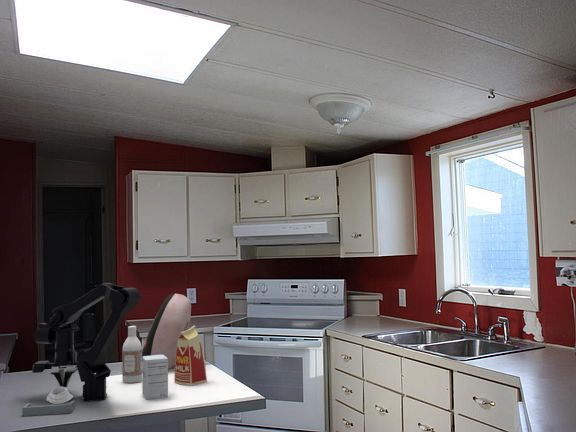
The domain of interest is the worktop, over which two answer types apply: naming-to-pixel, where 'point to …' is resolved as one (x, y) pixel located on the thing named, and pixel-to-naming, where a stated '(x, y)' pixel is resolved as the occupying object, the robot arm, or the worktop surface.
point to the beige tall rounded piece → (168, 328)
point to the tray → (48, 409)
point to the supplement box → (155, 376)
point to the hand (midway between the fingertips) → (64, 391)
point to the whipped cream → (59, 395)
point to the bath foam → (132, 358)
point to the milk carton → (189, 359)
